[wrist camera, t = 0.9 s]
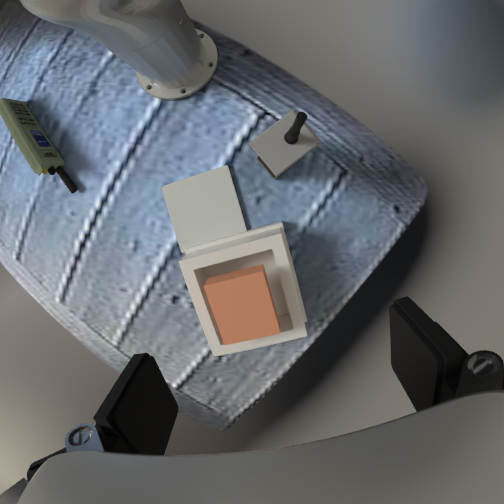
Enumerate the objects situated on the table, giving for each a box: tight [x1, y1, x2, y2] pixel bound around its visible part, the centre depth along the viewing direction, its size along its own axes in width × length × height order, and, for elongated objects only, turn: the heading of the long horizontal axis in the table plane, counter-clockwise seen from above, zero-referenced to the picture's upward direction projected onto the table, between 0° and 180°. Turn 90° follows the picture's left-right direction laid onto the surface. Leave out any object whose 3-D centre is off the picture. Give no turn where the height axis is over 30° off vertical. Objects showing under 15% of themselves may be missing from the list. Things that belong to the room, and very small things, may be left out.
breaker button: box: [203, 264, 281, 345], centre depth 36 cm, size 8×7×3 cm
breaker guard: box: [179, 221, 308, 356], centre depth 41 cm, size 15×14×7 cm
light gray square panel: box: [161, 165, 247, 253], centre depth 42 cm, size 10×10×1 cm
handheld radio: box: [0, 98, 78, 193], centre depth 38 cm, size 7×3×25 cm
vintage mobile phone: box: [249, 110, 322, 179], centre depth 28 cm, size 4×5×25 cm
